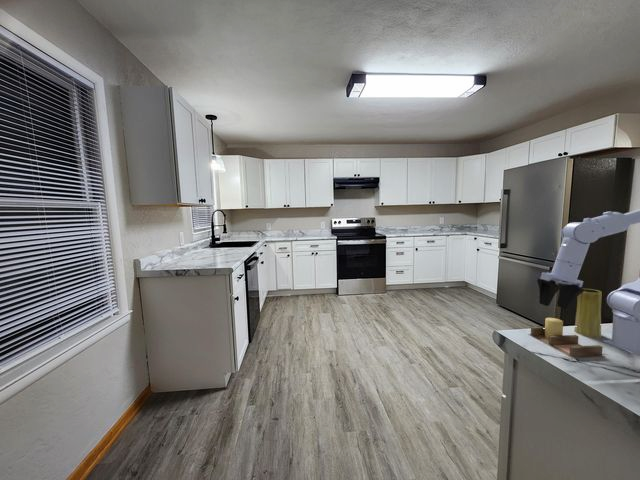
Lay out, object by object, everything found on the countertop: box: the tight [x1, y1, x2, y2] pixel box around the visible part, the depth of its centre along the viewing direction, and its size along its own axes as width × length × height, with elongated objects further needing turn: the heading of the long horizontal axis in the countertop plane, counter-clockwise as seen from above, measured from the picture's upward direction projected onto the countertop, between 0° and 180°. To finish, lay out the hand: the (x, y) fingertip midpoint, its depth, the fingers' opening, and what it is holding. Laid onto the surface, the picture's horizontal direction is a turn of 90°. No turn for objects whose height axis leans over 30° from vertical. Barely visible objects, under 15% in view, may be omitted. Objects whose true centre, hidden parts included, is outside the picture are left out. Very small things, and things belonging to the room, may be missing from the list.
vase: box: [573, 288, 603, 339], centre depth 83 cm, size 6×6×14 cm
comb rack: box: [527, 326, 606, 359], centre depth 77 cm, size 9×15×3 cm, turn 1°
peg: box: [544, 317, 564, 340], centre depth 80 cm, size 4×4×6 cm
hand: (552, 306), depth 79 cm, fingers open, 7 cm apart
